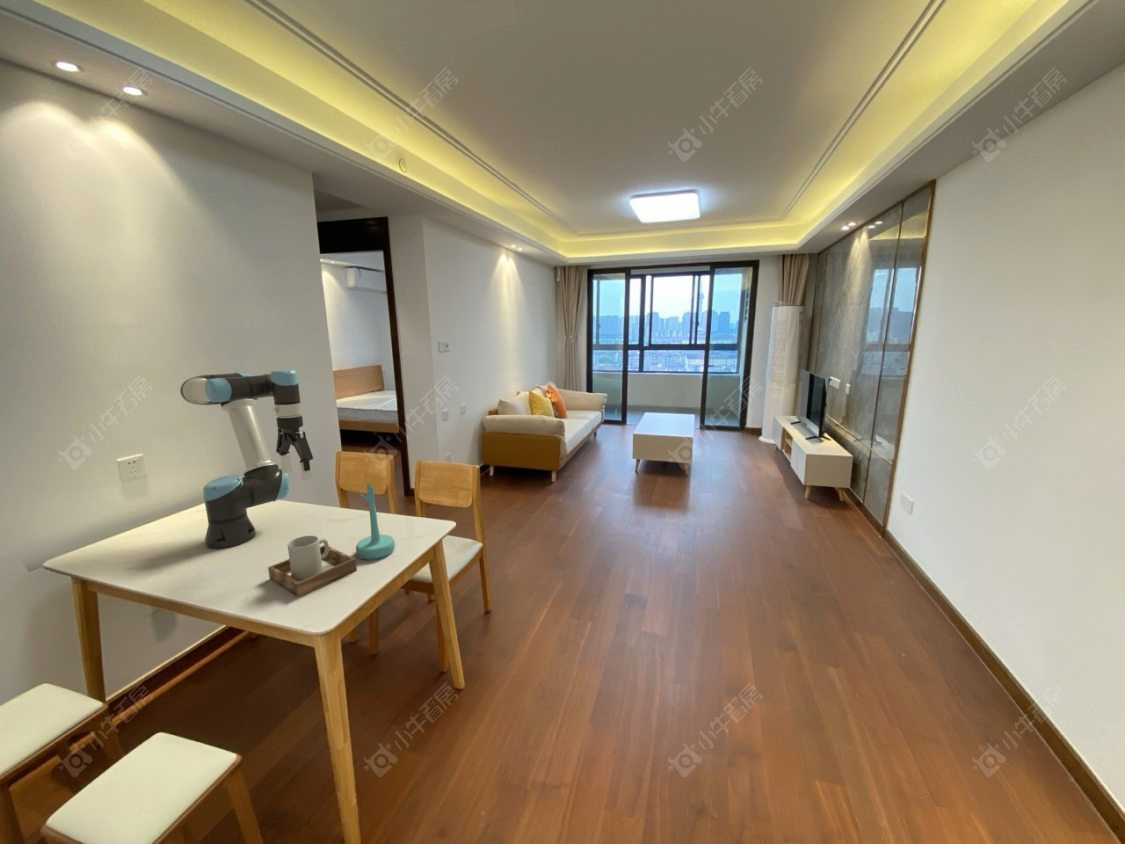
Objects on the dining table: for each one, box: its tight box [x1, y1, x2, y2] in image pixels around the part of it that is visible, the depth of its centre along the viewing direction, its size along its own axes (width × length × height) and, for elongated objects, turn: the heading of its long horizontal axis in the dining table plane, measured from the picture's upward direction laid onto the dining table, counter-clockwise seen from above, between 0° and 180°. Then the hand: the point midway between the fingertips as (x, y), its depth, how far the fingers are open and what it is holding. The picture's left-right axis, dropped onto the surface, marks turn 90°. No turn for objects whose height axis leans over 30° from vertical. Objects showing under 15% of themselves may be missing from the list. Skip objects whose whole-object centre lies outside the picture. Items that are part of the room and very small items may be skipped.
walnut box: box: [267, 544, 358, 598], centre depth 141 cm, size 18×18×4 cm
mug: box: [287, 535, 330, 581], centre depth 140 cm, size 12×8×11 cm
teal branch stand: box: [355, 483, 396, 561], centre depth 154 cm, size 12×12×25 cm
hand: (296, 476), depth 154 cm, fingers open, 13 cm apart
